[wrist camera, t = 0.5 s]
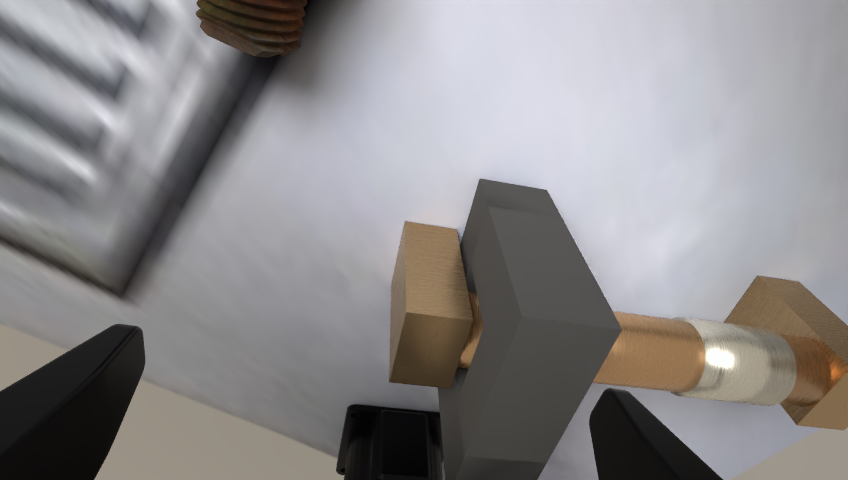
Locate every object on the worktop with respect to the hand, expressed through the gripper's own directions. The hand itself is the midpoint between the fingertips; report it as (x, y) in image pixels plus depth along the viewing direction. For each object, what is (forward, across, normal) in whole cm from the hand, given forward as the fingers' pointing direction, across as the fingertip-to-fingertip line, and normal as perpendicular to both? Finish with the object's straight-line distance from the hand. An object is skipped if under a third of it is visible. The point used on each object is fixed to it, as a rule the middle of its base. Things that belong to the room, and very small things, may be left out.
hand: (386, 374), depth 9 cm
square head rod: (+13, -11, +5) cm, 18 cm away
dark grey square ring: (+13, -5, +5) cm, 15 cm away
